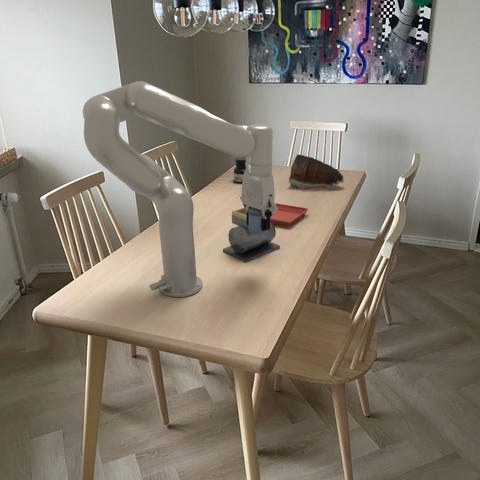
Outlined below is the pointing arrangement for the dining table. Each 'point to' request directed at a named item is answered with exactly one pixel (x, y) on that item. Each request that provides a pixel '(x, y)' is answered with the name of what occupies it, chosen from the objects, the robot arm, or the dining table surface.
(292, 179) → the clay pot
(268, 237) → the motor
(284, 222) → the plant saucer
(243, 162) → the ink bottle
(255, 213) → the blue rounded cylinder
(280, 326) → the dining table surface
